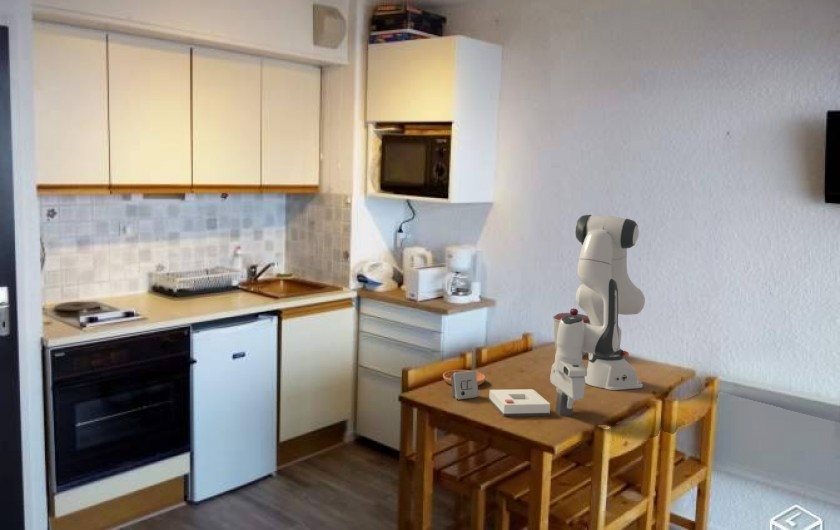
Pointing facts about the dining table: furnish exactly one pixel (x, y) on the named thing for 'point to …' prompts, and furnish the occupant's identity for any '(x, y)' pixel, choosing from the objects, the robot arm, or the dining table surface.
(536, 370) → the dining table surface
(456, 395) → the electrical switch
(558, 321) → the canister
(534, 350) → the dining table surface
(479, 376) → the saucer
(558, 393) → the grey upright block
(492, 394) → the socket
